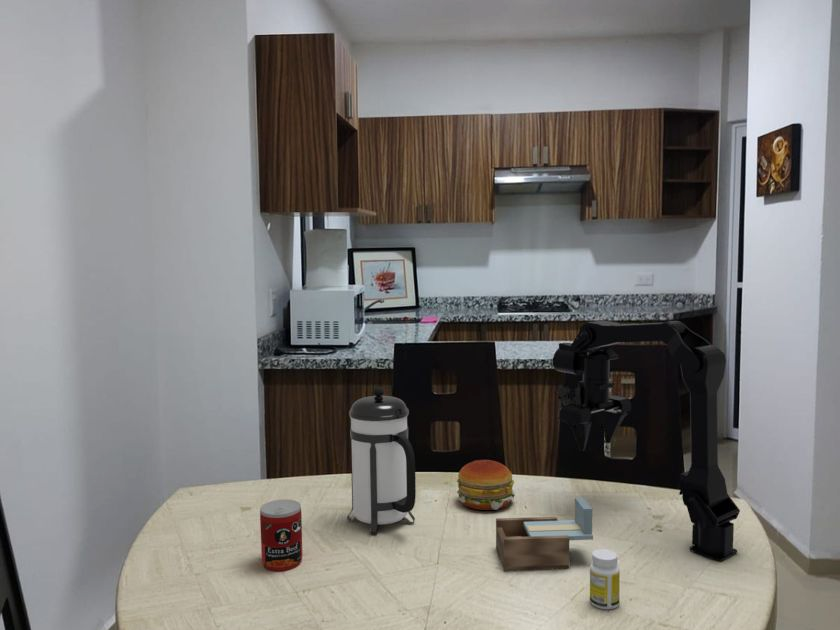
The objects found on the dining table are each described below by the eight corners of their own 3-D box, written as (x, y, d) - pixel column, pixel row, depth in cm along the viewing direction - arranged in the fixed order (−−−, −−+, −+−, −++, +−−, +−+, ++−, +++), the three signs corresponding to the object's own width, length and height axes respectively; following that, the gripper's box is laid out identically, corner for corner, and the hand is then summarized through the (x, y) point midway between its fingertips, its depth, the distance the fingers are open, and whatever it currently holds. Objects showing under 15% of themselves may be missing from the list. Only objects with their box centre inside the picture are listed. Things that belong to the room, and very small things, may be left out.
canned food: (262, 574, 126) (260, 516, 125) (260, 556, 133) (258, 501, 132) (304, 568, 128) (303, 511, 127) (300, 551, 135) (299, 497, 134)
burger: (449, 496, 165) (449, 456, 164) (502, 490, 168) (501, 451, 167) (467, 517, 152) (467, 473, 151) (524, 510, 155) (524, 467, 154)
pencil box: (556, 545, 136) (556, 516, 136) (569, 569, 126) (569, 537, 126) (496, 547, 136) (495, 518, 135) (504, 571, 126) (504, 539, 125)
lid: (581, 523, 135) (582, 496, 134) (593, 539, 127) (593, 510, 127) (523, 525, 134) (523, 497, 134) (531, 541, 127) (531, 512, 126)
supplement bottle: (614, 595, 116) (614, 547, 116) (623, 609, 112) (624, 560, 111) (586, 596, 116) (586, 548, 116) (594, 610, 112) (594, 561, 111)
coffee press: (334, 534, 143) (331, 393, 140) (359, 506, 159) (356, 378, 156) (415, 542, 139) (413, 396, 136) (432, 512, 154) (431, 381, 152)
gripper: (593, 368, 164) (592, 432, 165) (540, 377, 153) (539, 446, 154) (633, 374, 155) (631, 441, 157) (579, 385, 144) (579, 457, 145)
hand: (595, 446), depth 153 cm, fingers open, 9 cm apart
